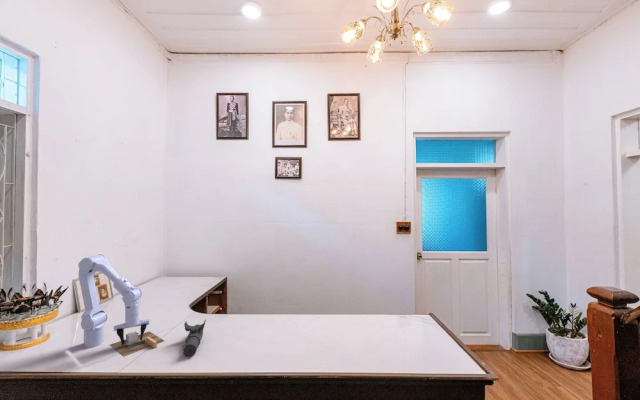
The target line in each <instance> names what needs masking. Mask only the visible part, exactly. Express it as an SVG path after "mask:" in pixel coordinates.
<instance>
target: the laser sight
mask: <svg viewBox="0 0 640 400" xmlns="http://www.w3.org/2000/svg"><path fill="white" fill-rule="evenodd" d="M206 322H207V319H204V321H203V323H202V324H195V325H190V324H188V321H187V320H186V321H185V322H184V330H185V332H188V334H187V337H186V339H185V345H184V347H183V350H182V352H183V355H184V356H185V357H187V358H191V357H193V356H195V354H196V352H197V350H198V347H199V346H200V344H201V341H202V338H203V335H204V329H205V324H206Z"/></svg>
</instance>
